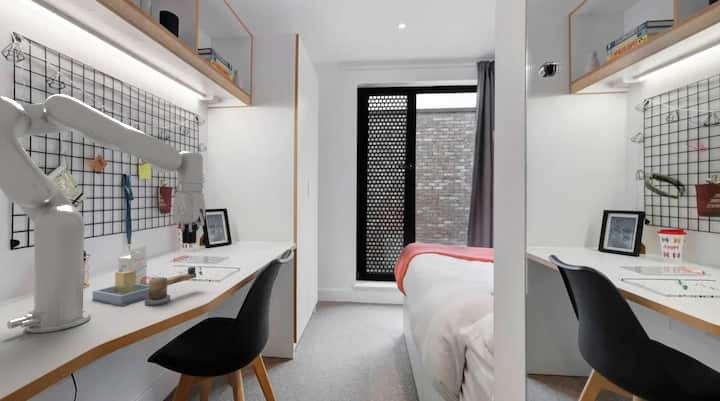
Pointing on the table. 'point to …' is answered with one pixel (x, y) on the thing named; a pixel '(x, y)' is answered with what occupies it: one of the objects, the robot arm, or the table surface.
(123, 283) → the yellow rectangular block
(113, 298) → the tray
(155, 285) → the wooden mallet
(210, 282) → the table surface
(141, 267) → the ink cartridge box
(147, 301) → the crank base
